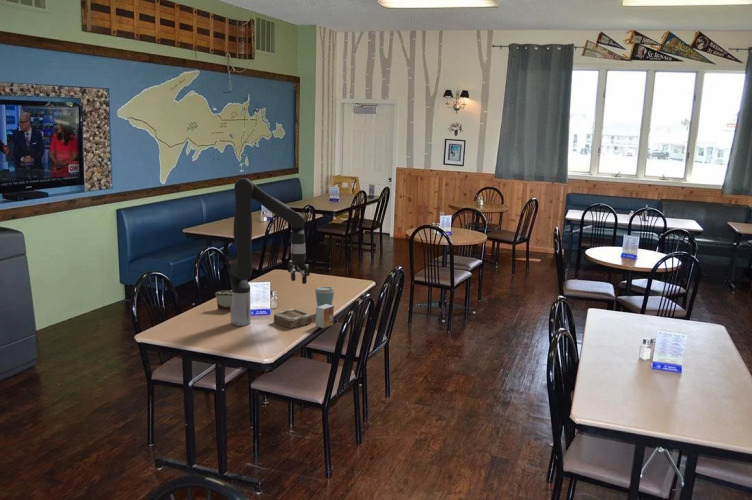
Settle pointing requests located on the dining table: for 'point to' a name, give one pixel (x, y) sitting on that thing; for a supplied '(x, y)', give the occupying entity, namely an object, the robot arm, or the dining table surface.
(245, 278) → the robot arm
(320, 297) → the disposable coffee cup
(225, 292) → the food container
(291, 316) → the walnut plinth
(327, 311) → the small box
